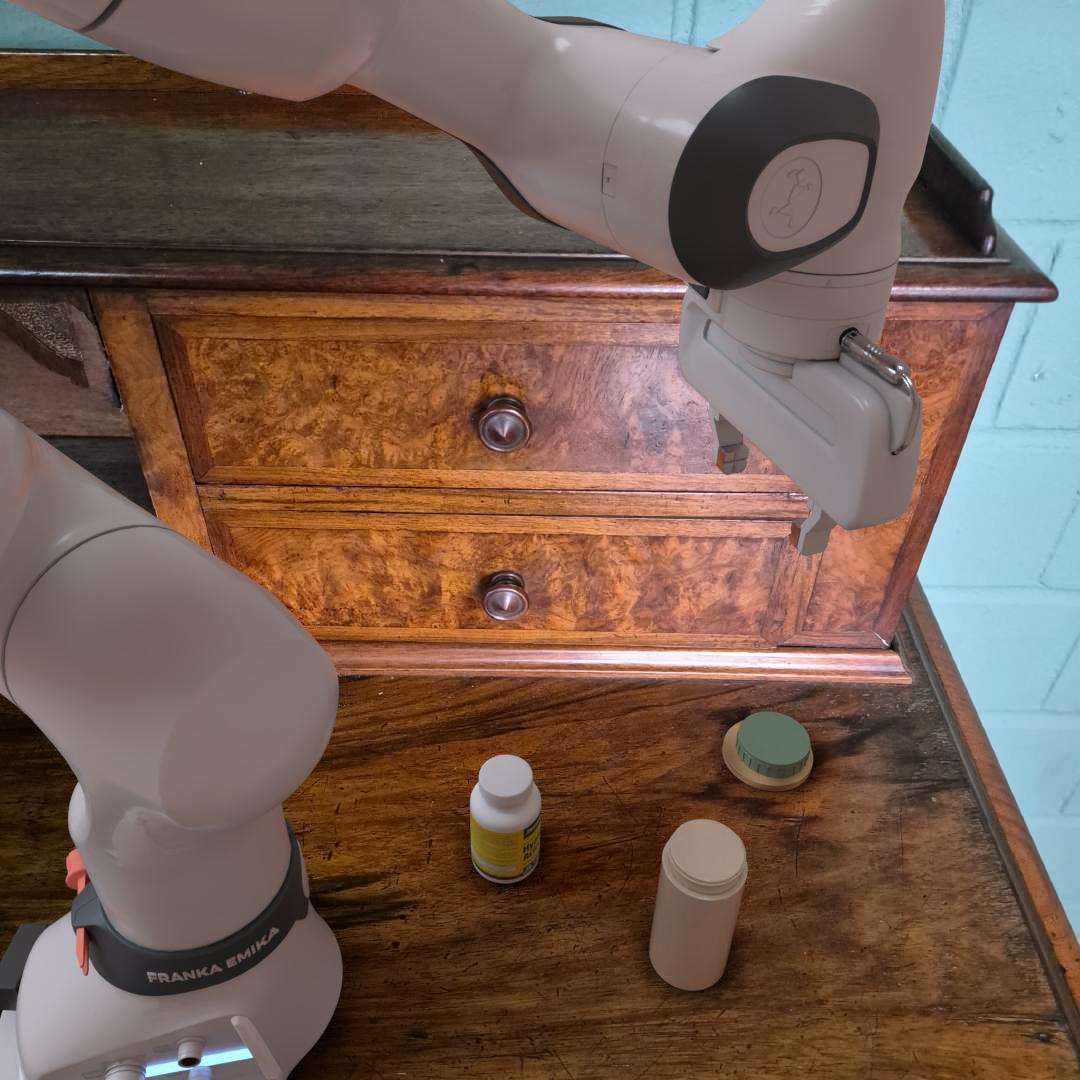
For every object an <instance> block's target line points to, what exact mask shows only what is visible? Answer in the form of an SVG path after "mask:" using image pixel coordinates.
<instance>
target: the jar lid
mask: <svg viewBox="0 0 1080 1080" xmlns="http://www.w3.org/2000/svg"><path fill="white" fill-rule="evenodd" d="M743 720H744V721H743ZM743 720H742V721H743V722H742V723H741V725H740V728H739V731H738V733H737V738H736V740H737V741H736V747H737V754H739V756H740V758H741V760H742V761H743V762H744V763H745V764H746V765H747V766H748V767H749V768H751V769H752V770H754V771H756V772H757V773H760V774H762V775H765V776H769V777H775V778H776V777H779V778H780V777H784V778H785V777H788V776H791V775H794V774H796V773H797V772H799V771H801V769H802V768H803V767H804V766H806V762H807V760H808V757H809V753H810V747H811V739H810V735H809V733H808V731H807V729H806V728H805V727H804V726H803V725H802V724H801V723H800V722H799V721H797V719H794V718H793V717H791V716H789V715H786V714H784V713H781V712H777V711H770V710H769V711H758V712H755V713H752V714H750V715H748V716H746V717H745V718H744V719H743Z"/></svg>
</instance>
